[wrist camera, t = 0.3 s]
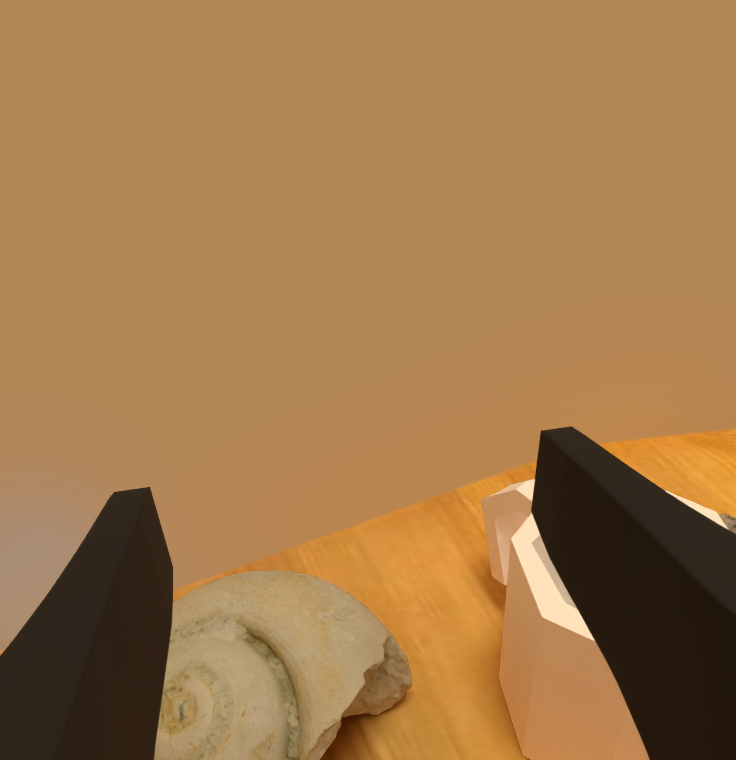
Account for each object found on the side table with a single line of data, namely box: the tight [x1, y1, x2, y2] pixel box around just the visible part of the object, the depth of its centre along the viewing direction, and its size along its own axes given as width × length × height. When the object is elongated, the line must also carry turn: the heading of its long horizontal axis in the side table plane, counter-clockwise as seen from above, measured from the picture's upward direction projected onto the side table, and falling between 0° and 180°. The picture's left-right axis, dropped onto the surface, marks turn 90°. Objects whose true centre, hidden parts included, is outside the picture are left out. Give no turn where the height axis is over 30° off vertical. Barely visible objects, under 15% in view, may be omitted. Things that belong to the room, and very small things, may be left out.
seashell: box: [154, 570, 412, 760], centre depth 28 cm, size 13×8×10 cm
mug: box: [481, 479, 729, 760], centre depth 29 cm, size 12×9×10 cm
